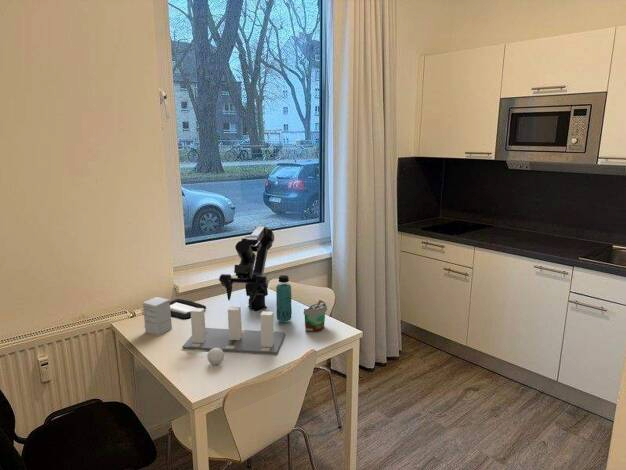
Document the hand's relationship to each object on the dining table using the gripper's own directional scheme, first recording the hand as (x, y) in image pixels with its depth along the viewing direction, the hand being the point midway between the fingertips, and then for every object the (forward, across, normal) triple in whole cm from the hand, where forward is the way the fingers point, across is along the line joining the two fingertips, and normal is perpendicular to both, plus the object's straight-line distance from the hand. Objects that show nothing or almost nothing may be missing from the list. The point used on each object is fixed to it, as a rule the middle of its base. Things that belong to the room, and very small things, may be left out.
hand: (240, 300), depth 166 cm
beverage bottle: (+1, +15, +18) cm, 23 cm away
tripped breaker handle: (+14, 0, +3) cm, 14 cm away
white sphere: (+27, -3, -8) cm, 28 cm away
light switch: (-3, -33, +23) cm, 40 cm away
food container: (+5, +30, +14) cm, 33 cm away
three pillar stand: (+15, 0, +4) cm, 15 cm away
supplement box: (+11, -33, +8) cm, 36 cm away
